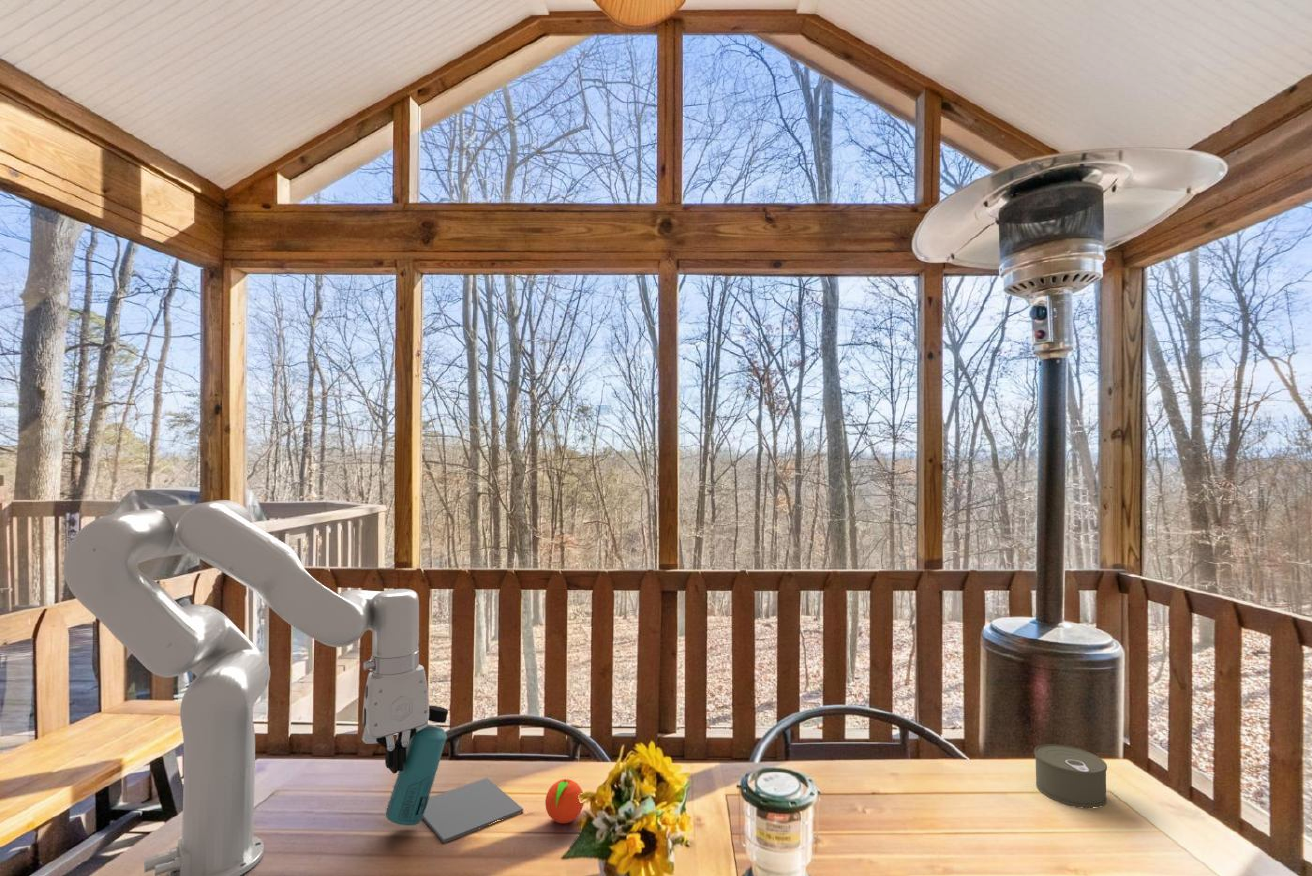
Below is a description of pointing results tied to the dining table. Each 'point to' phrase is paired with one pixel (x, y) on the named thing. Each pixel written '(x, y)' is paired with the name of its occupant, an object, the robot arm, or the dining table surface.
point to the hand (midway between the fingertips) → (395, 769)
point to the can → (1070, 775)
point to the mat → (468, 809)
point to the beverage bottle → (418, 772)
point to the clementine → (564, 801)
